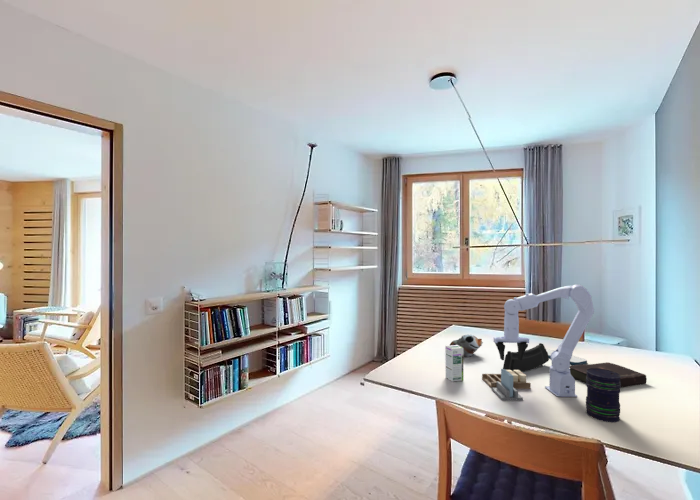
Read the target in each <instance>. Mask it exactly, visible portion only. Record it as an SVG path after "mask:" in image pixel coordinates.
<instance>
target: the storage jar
mask: <svg viewBox="0 0 700 500" xmlns="http://www.w3.org/2000/svg"><path fill="white" fill-rule="evenodd" d="M585 384H586V397H585V407H586V409H585V410H586V411H585V413H586V414H587V416H589V417H591V418H592V419H595V420H597V421H601V422H606V423H617V422H619V421H621V420H620V419H621V418H620V416H621V403H620V393H621V389H622V387H621V383H620V375H619V374H618V373H616V372H613V371H610V370H605V369H598V368H590V369H587V377H586V383H585Z"/></svg>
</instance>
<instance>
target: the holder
mask: <svg viewBox="0 0 700 500" xmlns="http://www.w3.org/2000/svg"><path fill="white" fill-rule="evenodd" d="M491 390H492V392H493V393H495V395H496V396H497V397H498V398H499V399H500V400H501V401H524V397H523V396H521V395H520V394H519V391H518V390H517V389H515V388H514V387H513V397H510V391H509V390H508V389H507V388H506V387H505V386H503V385H502V384H501V383H500V382H499V381H497V388H491Z"/></svg>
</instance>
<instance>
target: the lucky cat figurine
mask: <svg viewBox="0 0 700 500" xmlns="http://www.w3.org/2000/svg"><path fill="white" fill-rule="evenodd" d="M483 343H484V342H483V341H482V338H478V337H476V336H475V335H473V334H464V335H461V337H460V338H458V339H455V340H452V341H451V342H450V344H449V346H450V345H459V346H461V347H463V358H464V357H465V358H470V357H471V356H473V355H474V354H475V352H477V351H478V349H480V348H481V347H482V346H483Z"/></svg>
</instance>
